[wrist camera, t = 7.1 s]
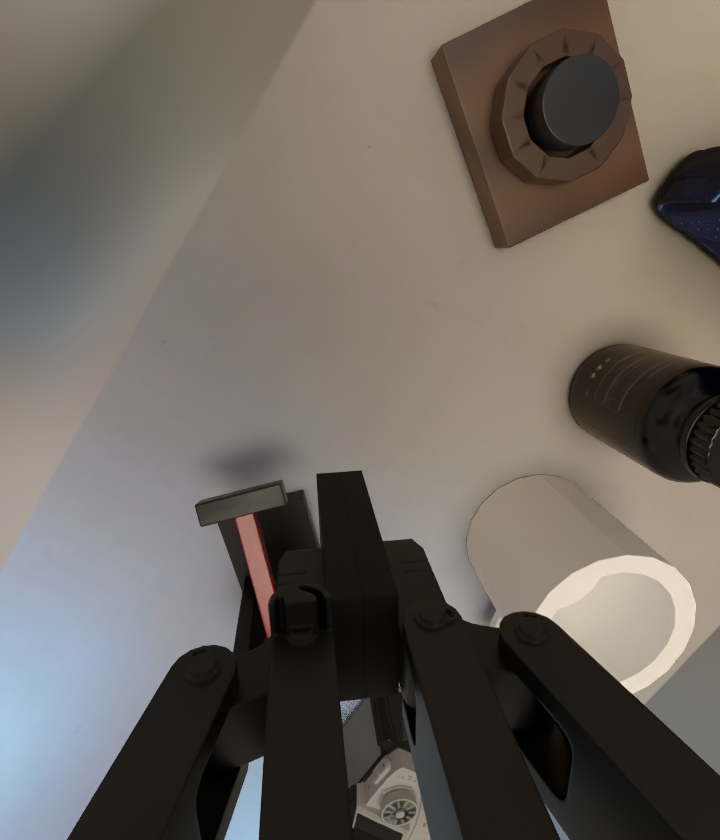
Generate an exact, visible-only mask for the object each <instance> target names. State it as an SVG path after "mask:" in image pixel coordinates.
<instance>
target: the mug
mask: <svg viewBox="0 0 720 840" xmlns="http://www.w3.org/2000/svg"><path fill="white" fill-rule="evenodd" d="M466 540H467V551H468V559H469V561H470V563H471V565H472V567H473V569H474V571H475V573H476V574H477V576H478V578H479V580H480V582H481V583H482V585H483V587H484V589H485V591H486V592H487V594H488V596H489V598H490V600H491V601H492V603H493V605H494V607H495V609H496V612H495V614H494V616H493V618H492V620H491V623H490V625H489V627H496V628H499V624H500V622H501V621H502V619H503V618H504V617H505V616H507V615H509V614H510V613H513V612H520V611H527V612H534V613H538V614H540V615H543V616H546V617H548V618H549V619H551V620H552V621H553V622H555V623H556V624H558V625H559V626H560V627H561V628H562V629H563V630H564V631H565V632H566V633H567V634H568V635H569V636H570V637H571V638H573V639H574V640H575V641H576V642H577V643H578V644H579V645H580V646H581V647H582V648H583V649H584V650H585V651H586V652H588V653H589V654H590V655H591V656H592V657H593V658H594V659H595V660H596V661H597V662H598V663H599V664H600V665H602V666H603V667H604V668H605V669H606V670H607V671H608V672H609V673H610V674H611V675H612V676H613V677H614V678H615V679H617V680H618V681H619V682H620V683H621V684H622V685H623V686H624V687H625V688H626V689H627V690H628V691H629V692H630V693H632V694H633V693H635V692H637V691H639V690H641V689H643V688H645V687H647V686H649V685H650V684H651V683H652V682H654V681H655V680H656V679H658V678H659V677H660V676H661V675H663V674H664V673H665V672H666V671H668V670H669V669H670V667H671V666H672V665H673V664H674V662H675V661H676V660H677V658H678V657H679V656H680V655H681V653H682V652H683V651H684V650H685V647H686V645H687V643H688V640H689V638H690V636H691V633H692V631H693V628H694V623H695V610H696V603H695V600H694V597H693V593H692V590H691V587H690V584H689V583H688V582H687V580H686V579H685V578H684V577H683V576H682V575H681V574H680V573H679V572H678V570H677V569H676V568H675V567H674V566H672V565H671V564H670V563H669V562H668V561H666V560H665V559H664V558H663V557H662V556H660V555H659V554H658V553H657V552H656V551H654V550H653V549H652V548H651V547H650V546H648V545H647V544H646V543H645V542H644V541H643V540H641V539H640V538H639V537H638V536H637V535H635V534H634V533H633V532H632V531H631V530H629V529H628V528H627V527H626V526H625V525H623V524H622V523H621V522H620V521H619V520H617V519H616V518H615V517H614V516H613V515H611V514H610V513H609V512H608V511H607V510H605V509H604V508H603V507H602V506H601V505H599V504H598V503H597V502H596V501H595V500H593V499H592V498H591V497H590V496H589V495H587V494H586V493H585V492H584V491H583V490H581V489H580V488H579V487H578V486H577V485H575V484H573V483H571V482H569V481H567V480H565V479H563V478H561V477H556V476H547V475H534V476H529V477H524V478H518V479H516V480H514V481H512V482H510V483H508V484H506V485H504V486H502V487H500V488H498V489H497V490H496V491H495V492H494V493H493V494H492V495H491V496H489V497H488V498H487V499H486V500H485V501H484V502H483V503H482V504H481V506H480V507H479V509H478V511H477V512H476V514H475V515H474V517H473V519H472V520H471V524H470V528H469V531H468V535H467V539H466Z"/></svg>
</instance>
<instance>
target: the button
mask: <svg viewBox="0 0 720 840" xmlns="http://www.w3.org/2000/svg"><path fill="white" fill-rule="evenodd" d="M618 104H619V86H618V81H617V78H616V75H615V73H614V71H613V70H612V68H611V67H610V66H609V64H608V63H607V62H605V61H604V60H603V59H601V58H600V57H597V56H595V55H591V54H578V55H574V56H572V57H569V58H568V59H566V60H564V61H563V62H561V63H560V64H559V65H557V66H556V67H554V68H553V69H552V70H550V71H549V72H548V73H546V74H545V75H544V76H543V77H542V78H541V79H540V80H539V82H538V83H537V84H536V86H535V88H534V90H533V92H532V94H531V97H530V101H529V106H528V120H529V125H530V128H531V131H532V133H533V135H534V137H535V138H536V140H537V141H538V142H539V143H540V144H541V145H542V146H544V147H545V148H547V149H549V150H552V151H556V152H566V151H570V150H573V149H576V148H578V147H581V146H584V145H587V144H589V143H591V142H593V141H595V140H597V139H598V138H599V137H601V136H602V135H603V134H604V133H605V132H606V130H607V129H608V128H609V126H610V125H611V123H612V122H613V120H614V118H615V115H616V112H617V109H618Z"/></svg>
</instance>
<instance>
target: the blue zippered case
mask: <svg viewBox="0 0 720 840" xmlns="http://www.w3.org/2000/svg"><path fill="white" fill-rule="evenodd" d="M655 206H656V208H657V210H658V212H659V214H660V215H661V217H662V218H663V219H664V220H665V221H666V222H668V223H669V224H670V225H671V226H672V227H674V228H675V229H676V230H678V231H679V232H681V233H682V234H684V235H686V236H687V237H688V238H690V239H691V240H692V241H693V242H695V243H696V244H698V245H699V246H701V247H702V248H703V249H704V250H705V251H706V252H707V253H708V254H709V255H711V256H712V257H714V258H715V259H716V260H717V261H719V262H720V147H713V148H709V149H706V150H699V151H695V152H693V153H691V154H690V155H688V156H687V157H686V158H685V159H684V160H683V161H682V162H681V163H680V164H679V165H678V167H677V168H676V169H675V171H674V172H673V173H672V175H671V176H670V178H669V179H668V180H667V182H666V183H665V184H664V185H663V186H662V187H661V190H660V193H659V195H658V197H657V198H656V200H655Z"/></svg>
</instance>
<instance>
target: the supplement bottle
mask: <svg viewBox="0 0 720 840" xmlns="http://www.w3.org/2000/svg"><path fill="white" fill-rule="evenodd" d="M570 405H571V410H572V413H573V416H574V418H575V420H576V421H577V423H578V424H579V425H580V427H581V428H582V429H584V430H585V431H586V432H587V433H589V434H590V435H592V436H593V437H595V438H596V439H598V440H600V441H602V442H603V443H605V444H607V445H608V446H610V447H612V448H613V449H615V450H617V451H618V452H620V453H622V454H623V455H625V456H627V457H628V458H630V459H632V460H633V461H635V462H637V463H638V464H640V465H642V466H644V467H645V468H647V469H649V470H650V471H652V472H654V473H655V474H657V475H659V476H661V477H663V478H666V479H668V480H671V481H675V482H684V483H691V482H700V481H705V482H707V483H711V484H713V485H715V486H717V487H719V488H720V366H717V365H713V364H709V363H705V362H701V361H697V360H693V359H689V358H685V357H681V356H677V355H673V354H669V353H665V352H660V351H656V350H652V349H648V348H644V347H639V346H635V345H616V346H611V347H608V348H605V349H603V350H601V351H599V352H597V353H596V354H594V355H593V356H592V357H591V358H589V359H588V360H587V361H586V362H585V363H584V364H583V366H582V367H581V368H580V370H579V371H578V373H577V375H576V377H575V379H574V381H573V384H572V388H571V394H570Z"/></svg>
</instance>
